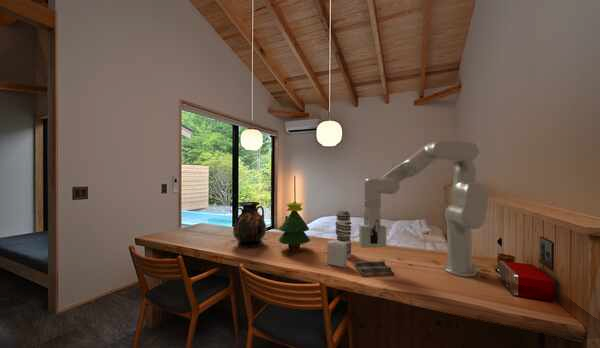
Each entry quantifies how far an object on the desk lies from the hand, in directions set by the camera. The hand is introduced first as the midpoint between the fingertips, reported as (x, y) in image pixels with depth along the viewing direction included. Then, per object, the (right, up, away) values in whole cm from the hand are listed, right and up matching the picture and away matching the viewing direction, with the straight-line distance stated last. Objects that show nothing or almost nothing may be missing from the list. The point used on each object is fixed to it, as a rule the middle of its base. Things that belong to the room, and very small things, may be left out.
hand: (372, 241), depth 111 cm
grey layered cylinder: (-10, -14, +21) cm, 27 cm away
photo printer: (-16, -14, +7) cm, 23 cm away
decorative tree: (-38, -14, +31) cm, 51 cm away
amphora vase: (-68, -15, +41) cm, 81 cm away
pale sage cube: (0, -2, 0) cm, 2 cm away
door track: (0, -14, 0) cm, 14 cm away
